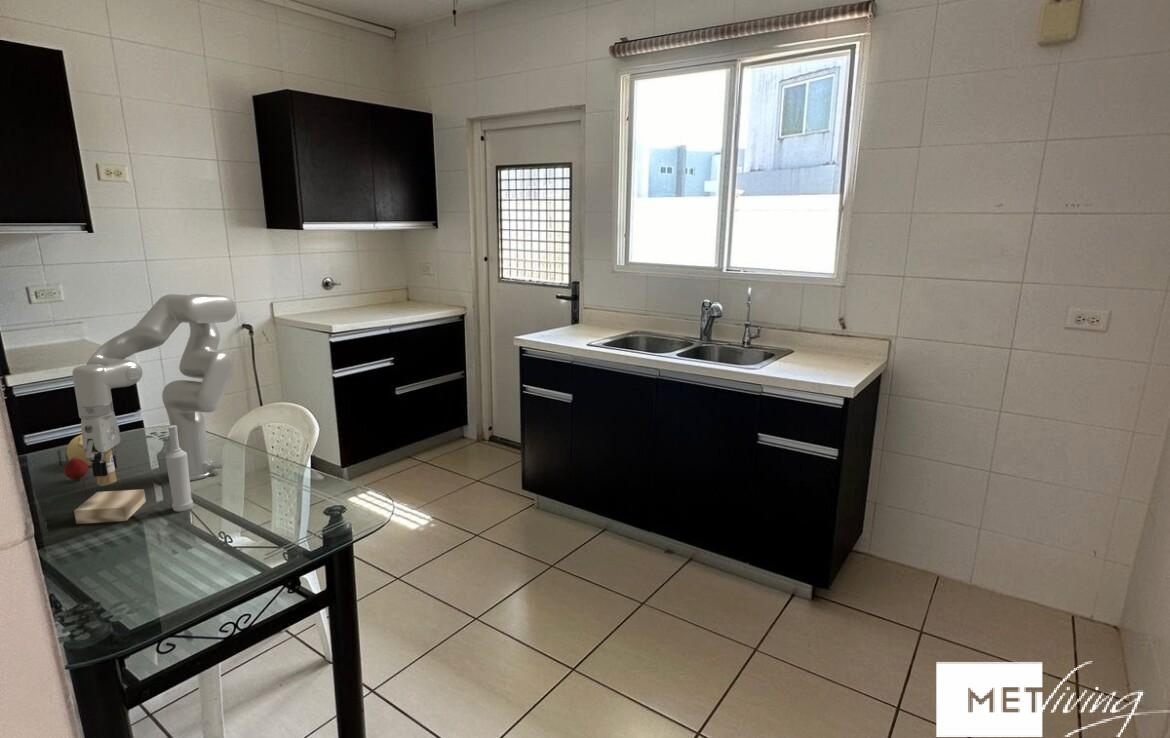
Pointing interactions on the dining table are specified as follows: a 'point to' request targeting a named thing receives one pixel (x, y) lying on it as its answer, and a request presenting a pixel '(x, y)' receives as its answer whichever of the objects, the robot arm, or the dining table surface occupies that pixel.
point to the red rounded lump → (75, 468)
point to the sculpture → (77, 450)
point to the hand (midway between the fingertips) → (105, 471)
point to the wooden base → (110, 506)
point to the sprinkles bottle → (110, 469)
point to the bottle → (178, 474)
